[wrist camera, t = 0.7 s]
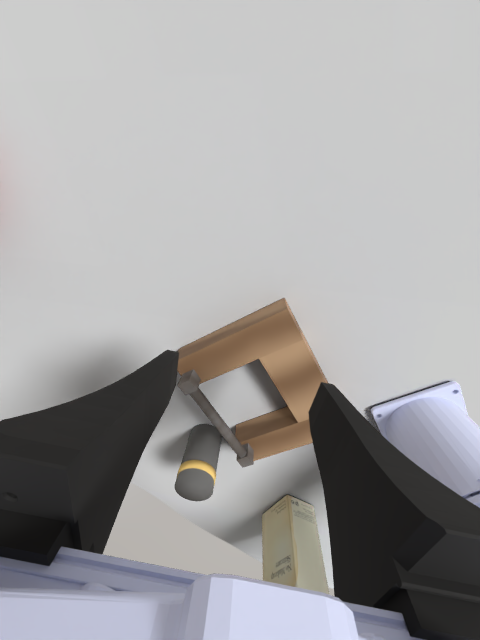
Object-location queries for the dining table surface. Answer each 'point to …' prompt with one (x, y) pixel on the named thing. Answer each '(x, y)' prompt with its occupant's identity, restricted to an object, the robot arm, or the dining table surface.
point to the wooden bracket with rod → (280, 363)
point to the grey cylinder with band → (199, 463)
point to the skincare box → (292, 546)
